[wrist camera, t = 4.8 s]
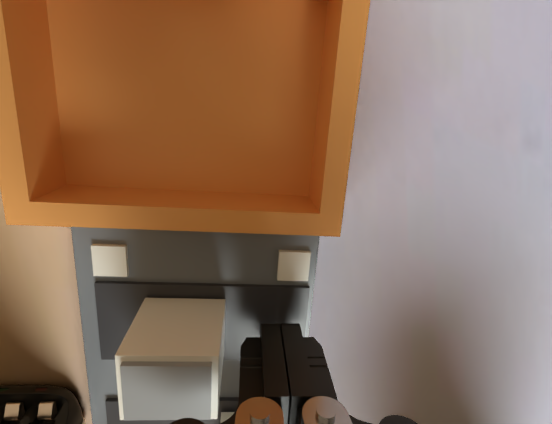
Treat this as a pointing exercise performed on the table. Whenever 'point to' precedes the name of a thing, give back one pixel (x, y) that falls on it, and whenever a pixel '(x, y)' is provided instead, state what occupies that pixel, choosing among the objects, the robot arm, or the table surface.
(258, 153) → the tray
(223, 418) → the breaker
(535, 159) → the table surface
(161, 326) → the block
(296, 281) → the panel
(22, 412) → the battery charger
